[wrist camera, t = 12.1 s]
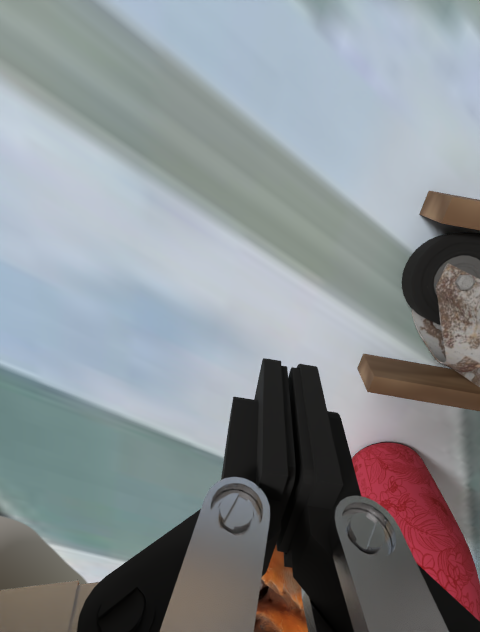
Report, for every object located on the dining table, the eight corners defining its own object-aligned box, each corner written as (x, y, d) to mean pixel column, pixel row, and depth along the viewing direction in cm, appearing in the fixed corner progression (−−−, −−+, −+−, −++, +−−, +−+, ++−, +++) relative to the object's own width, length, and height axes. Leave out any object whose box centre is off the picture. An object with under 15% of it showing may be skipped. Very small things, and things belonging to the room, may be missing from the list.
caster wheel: (423, 219, 32) (515, 266, 32) (361, 319, 35) (446, 363, 35) (461, 212, 25) (577, 271, 25) (381, 336, 28) (486, 391, 28)
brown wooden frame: (428, 190, 28) (467, 200, 23) (586, 219, 29) (660, 235, 23) (357, 368, 37) (373, 405, 32) (478, 389, 37) (515, 429, 32)
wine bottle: (415, 488, 45) (636, 979, 18) (342, 488, 46) (451, 955, 19) (427, 436, 41) (740, 979, 14) (346, 437, 42) (495, 949, 15)
